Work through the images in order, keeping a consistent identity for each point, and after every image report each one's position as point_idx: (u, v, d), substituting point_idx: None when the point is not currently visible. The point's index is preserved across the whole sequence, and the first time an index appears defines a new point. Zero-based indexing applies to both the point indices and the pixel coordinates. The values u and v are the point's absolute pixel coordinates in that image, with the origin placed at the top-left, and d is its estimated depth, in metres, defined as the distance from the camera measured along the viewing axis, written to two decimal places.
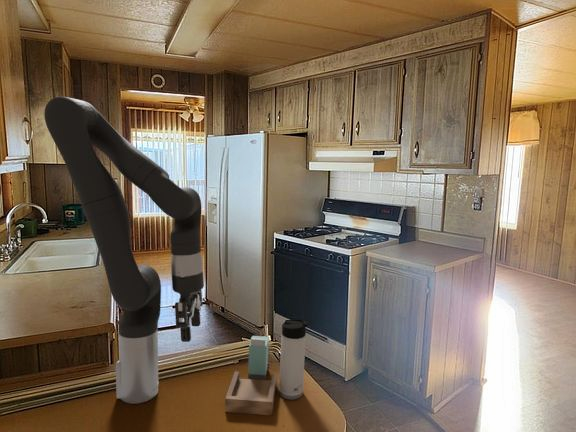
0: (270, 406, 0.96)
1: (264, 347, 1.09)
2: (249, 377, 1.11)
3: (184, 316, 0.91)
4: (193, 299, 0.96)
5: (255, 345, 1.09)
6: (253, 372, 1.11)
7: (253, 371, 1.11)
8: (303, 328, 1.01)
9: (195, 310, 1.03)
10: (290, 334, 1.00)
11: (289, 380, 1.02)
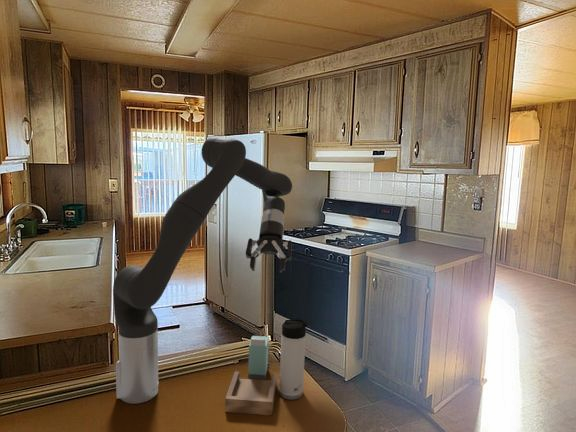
0: (270, 406, 0.96)
1: (264, 347, 1.09)
2: (249, 377, 1.11)
3: None
4: None
5: (255, 345, 1.09)
6: (253, 372, 1.11)
7: (253, 371, 1.11)
8: (303, 328, 1.01)
9: (255, 257, 1.23)
10: (290, 334, 1.00)
11: (289, 380, 1.02)
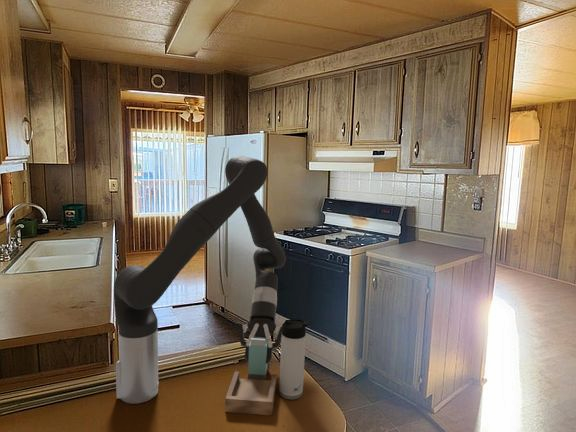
0: (270, 406, 0.96)
1: (264, 347, 1.09)
2: (249, 377, 1.11)
3: None
4: None
5: (255, 345, 1.09)
6: (253, 372, 1.11)
7: (253, 371, 1.11)
8: (303, 328, 1.01)
9: None
10: (290, 334, 1.00)
11: (289, 380, 1.02)
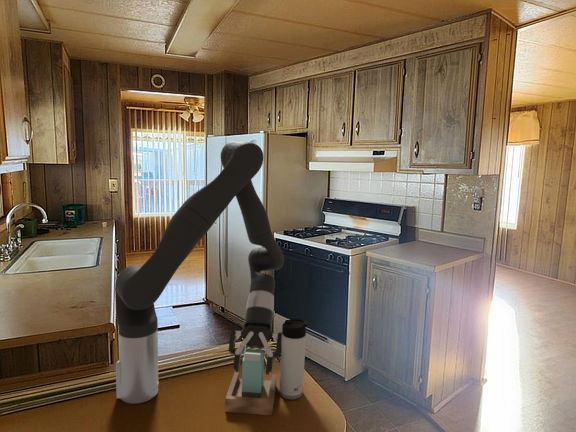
0: (270, 406, 0.96)
1: (259, 362, 0.98)
2: (243, 395, 1.00)
3: None
4: None
5: (249, 360, 0.99)
6: (247, 390, 1.00)
7: (247, 389, 1.00)
8: (303, 328, 1.01)
9: (240, 354, 1.03)
10: (291, 334, 1.00)
11: (289, 380, 1.02)
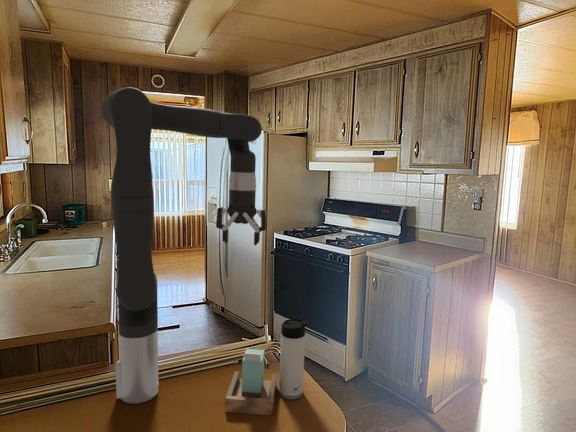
0: (270, 406, 0.96)
1: (259, 362, 0.98)
2: (243, 395, 1.00)
3: None
4: None
5: (249, 360, 0.99)
6: (247, 390, 1.00)
7: (247, 389, 1.00)
8: (302, 328, 1.01)
9: (227, 228, 1.15)
10: (290, 334, 1.00)
11: (288, 380, 1.02)
